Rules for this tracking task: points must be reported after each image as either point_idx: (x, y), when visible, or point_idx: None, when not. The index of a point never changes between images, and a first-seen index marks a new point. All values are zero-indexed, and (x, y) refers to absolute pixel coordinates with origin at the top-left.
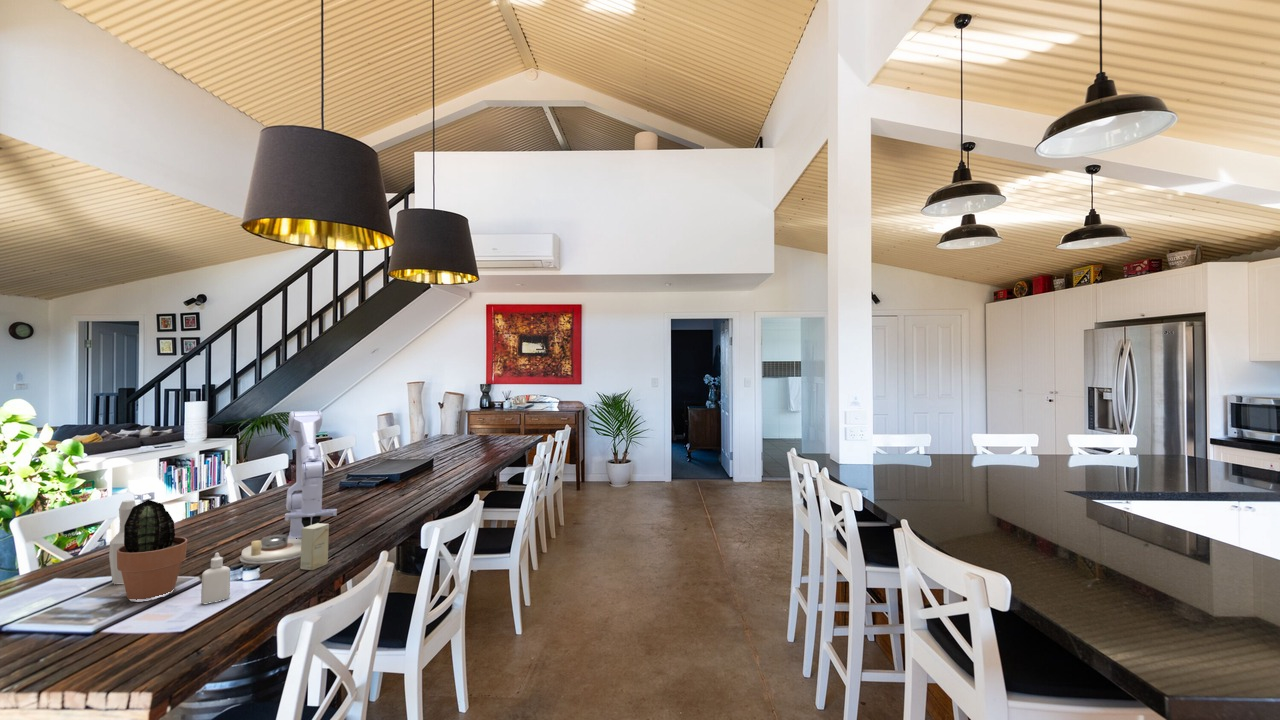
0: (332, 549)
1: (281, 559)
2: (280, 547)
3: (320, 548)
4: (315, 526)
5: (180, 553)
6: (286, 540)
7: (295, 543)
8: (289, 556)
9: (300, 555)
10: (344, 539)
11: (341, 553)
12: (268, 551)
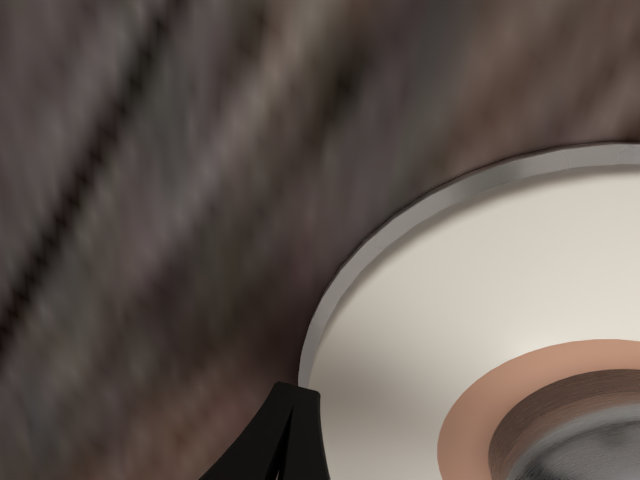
0: (149, 247)
1: None
2: (597, 384)
3: None
4: None
5: None
6: (538, 464)
7: (414, 450)
8: (543, 179)
9: (423, 199)
10: (73, 426)
11: (72, 63)
12: None
